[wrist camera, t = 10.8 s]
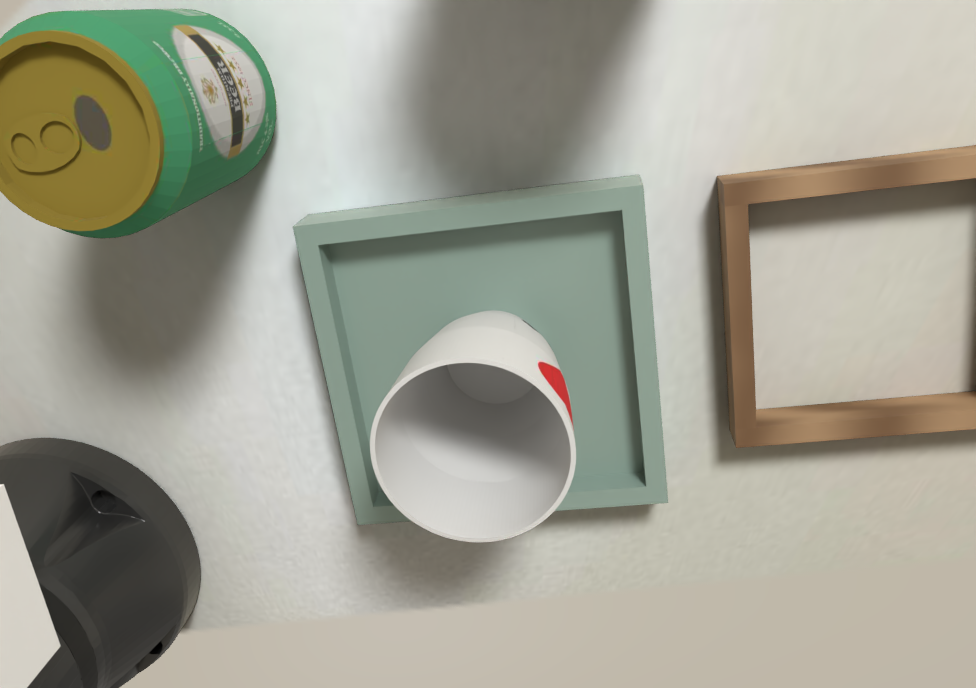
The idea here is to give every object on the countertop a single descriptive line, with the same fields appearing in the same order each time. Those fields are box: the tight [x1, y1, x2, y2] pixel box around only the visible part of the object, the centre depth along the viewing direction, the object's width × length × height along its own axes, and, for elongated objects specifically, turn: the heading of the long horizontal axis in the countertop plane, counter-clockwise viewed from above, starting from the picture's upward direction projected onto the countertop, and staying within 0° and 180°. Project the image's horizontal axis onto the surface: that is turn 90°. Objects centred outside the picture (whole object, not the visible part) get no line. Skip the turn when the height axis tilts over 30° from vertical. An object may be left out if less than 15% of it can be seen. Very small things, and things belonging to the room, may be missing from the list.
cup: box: [370, 310, 576, 542], centre depth 40 cm, size 8×8×10 cm
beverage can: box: [0, 9, 276, 238], centre depth 36 cm, size 8×8×12 cm
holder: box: [717, 145, 976, 448], centre depth 41 cm, size 13×13×2 cm
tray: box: [293, 175, 668, 525], centre depth 44 cm, size 16×16×2 cm
